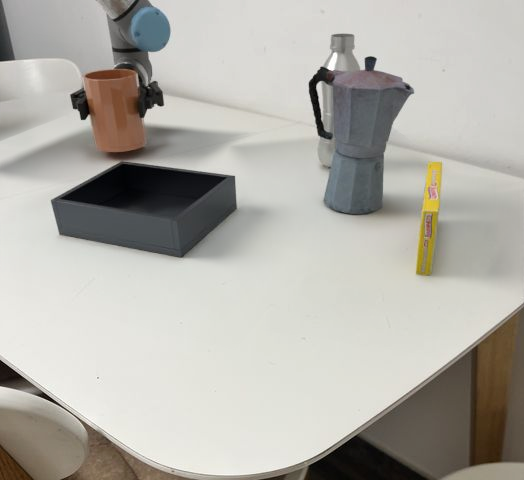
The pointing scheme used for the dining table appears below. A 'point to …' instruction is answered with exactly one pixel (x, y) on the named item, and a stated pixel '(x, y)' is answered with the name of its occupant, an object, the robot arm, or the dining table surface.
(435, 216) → the candy box
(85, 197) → the tray
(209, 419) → the dining table surface
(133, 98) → the pot
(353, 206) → the moka pot
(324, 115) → the silver bottle
